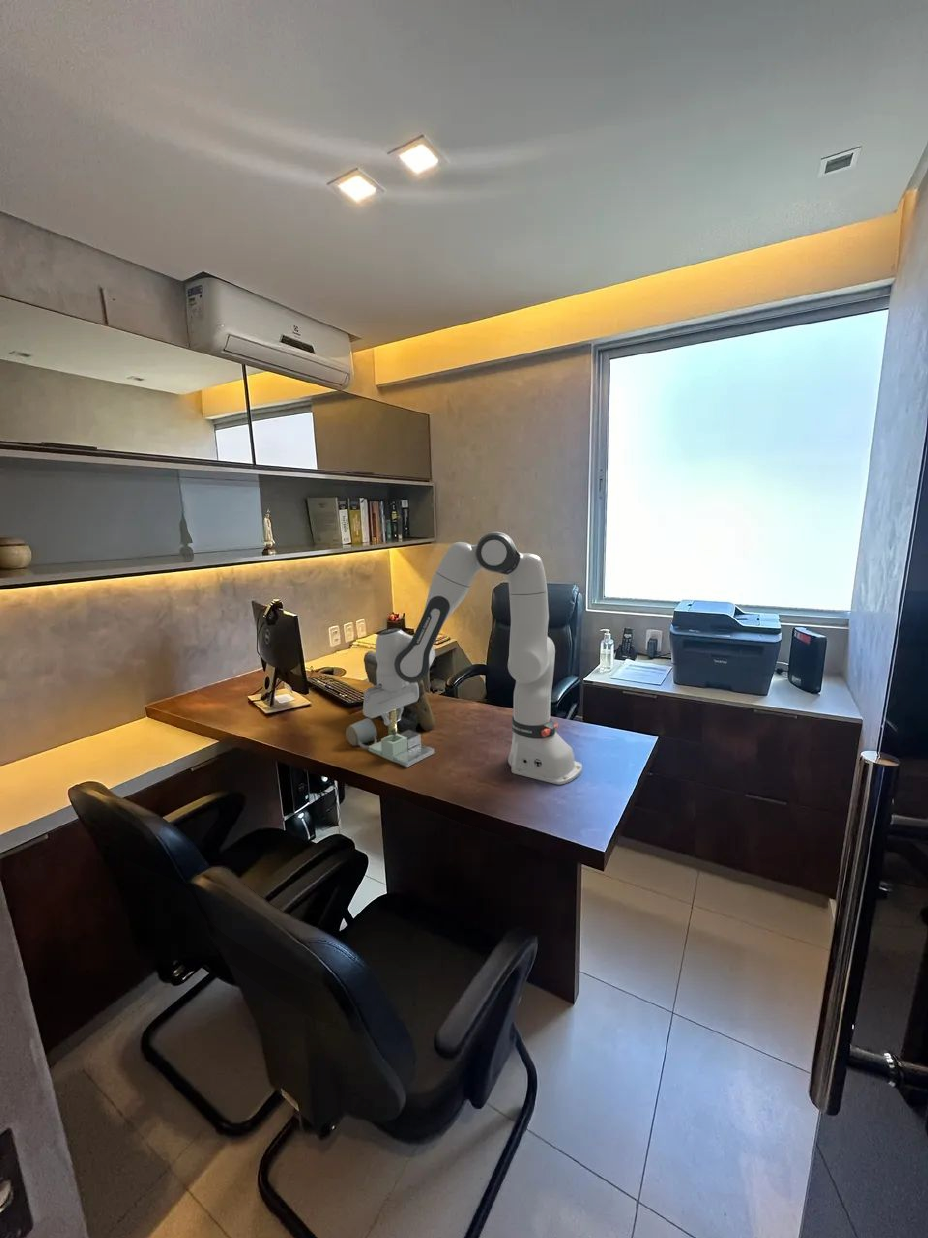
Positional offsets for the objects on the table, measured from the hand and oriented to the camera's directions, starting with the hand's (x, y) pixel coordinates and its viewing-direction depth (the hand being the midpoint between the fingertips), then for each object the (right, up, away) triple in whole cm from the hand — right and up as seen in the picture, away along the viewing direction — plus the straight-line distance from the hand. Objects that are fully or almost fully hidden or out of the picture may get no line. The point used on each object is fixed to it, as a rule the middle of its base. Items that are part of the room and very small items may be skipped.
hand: (392, 722), depth 154 cm
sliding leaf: (+5, -11, +2) cm, 12 cm away
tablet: (-2, -6, +31) cm, 31 cm away
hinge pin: (0, -4, +1) cm, 4 cm away
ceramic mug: (-11, -10, +11) cm, 19 cm away
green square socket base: (0, -10, +6) cm, 12 cm away
